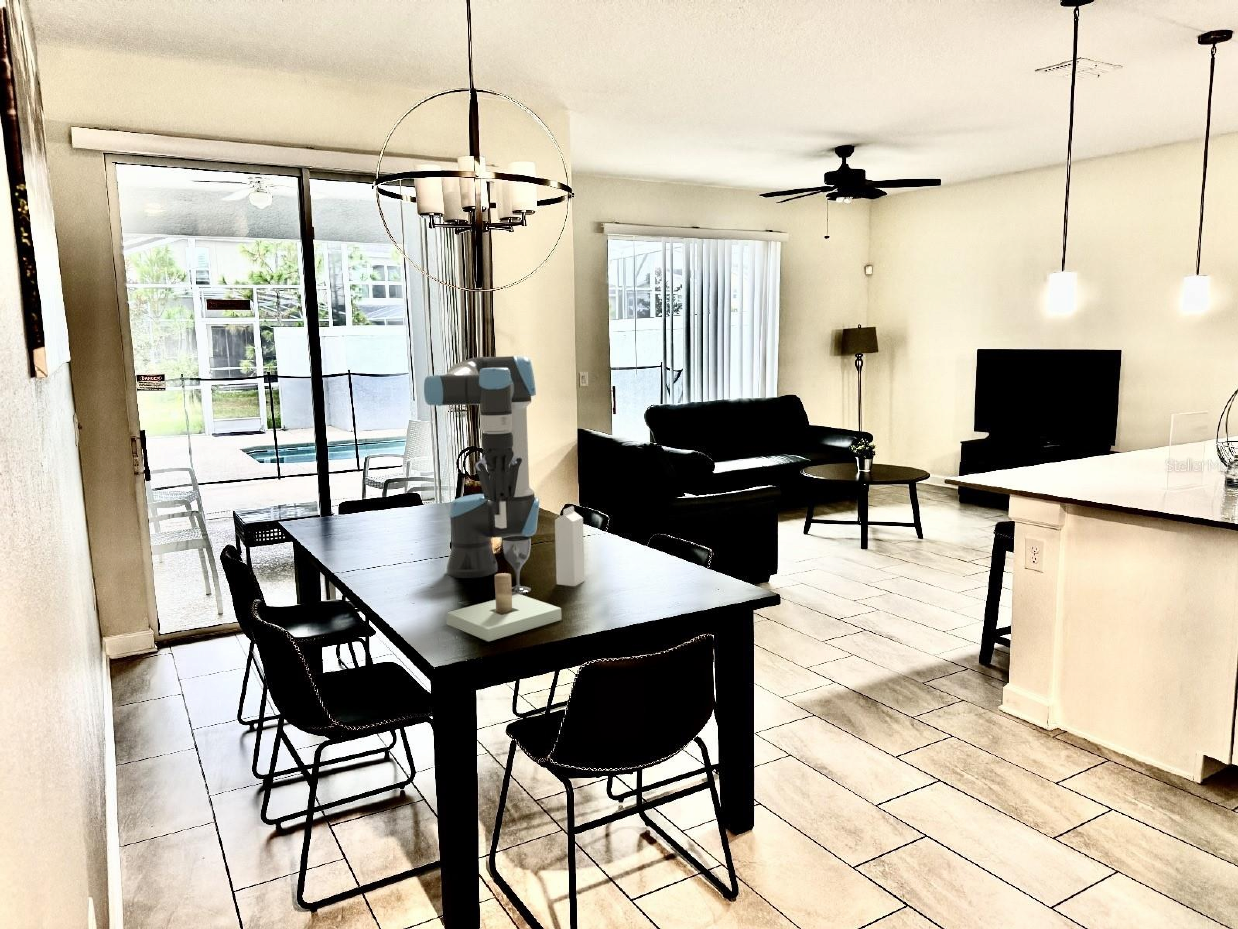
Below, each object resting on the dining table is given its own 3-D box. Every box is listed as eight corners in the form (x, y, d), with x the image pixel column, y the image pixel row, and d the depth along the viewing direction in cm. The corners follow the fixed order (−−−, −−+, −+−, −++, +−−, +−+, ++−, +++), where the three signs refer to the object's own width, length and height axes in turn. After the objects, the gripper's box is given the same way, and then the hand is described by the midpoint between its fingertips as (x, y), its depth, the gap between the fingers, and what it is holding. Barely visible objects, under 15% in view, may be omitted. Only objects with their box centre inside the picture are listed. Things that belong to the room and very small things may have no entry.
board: (447, 624, 218) (446, 612, 218) (518, 604, 233) (518, 593, 233) (488, 641, 205) (488, 629, 205) (561, 619, 220) (561, 608, 220)
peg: (493, 622, 219) (491, 575, 217) (506, 618, 222) (504, 572, 220) (502, 625, 216) (500, 578, 214) (515, 621, 219) (514, 575, 217)
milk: (556, 584, 251) (553, 509, 248) (566, 579, 257) (564, 505, 254) (575, 586, 249) (572, 510, 246) (585, 581, 254) (582, 506, 251)
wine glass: (533, 585, 250) (531, 534, 248) (531, 593, 243) (529, 540, 240) (505, 586, 250) (503, 535, 248) (502, 594, 242) (500, 541, 240)
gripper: (483, 435, 205) (487, 534, 209) (528, 430, 214) (531, 525, 217) (465, 433, 211) (469, 529, 214) (509, 428, 219) (513, 520, 223)
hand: (500, 527), depth 216 cm, fingers closed
